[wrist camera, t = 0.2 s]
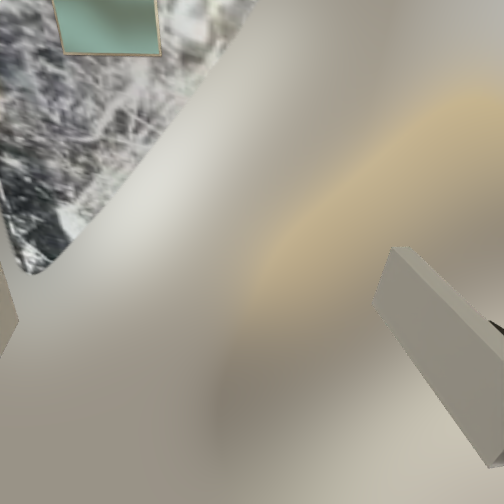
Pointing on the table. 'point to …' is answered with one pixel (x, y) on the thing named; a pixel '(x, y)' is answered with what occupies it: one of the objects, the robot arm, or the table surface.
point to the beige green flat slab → (108, 27)
